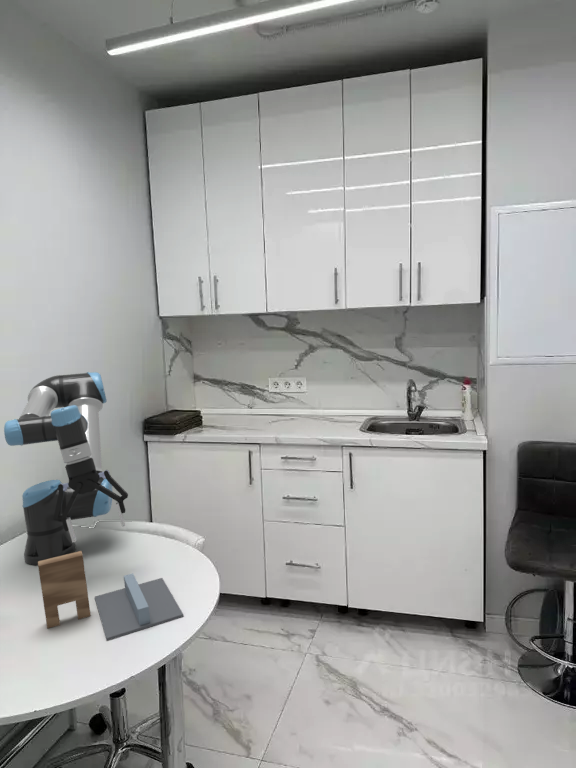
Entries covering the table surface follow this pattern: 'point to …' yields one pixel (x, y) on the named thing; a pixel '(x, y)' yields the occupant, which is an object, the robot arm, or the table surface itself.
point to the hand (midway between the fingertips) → (99, 533)
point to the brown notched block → (63, 586)
